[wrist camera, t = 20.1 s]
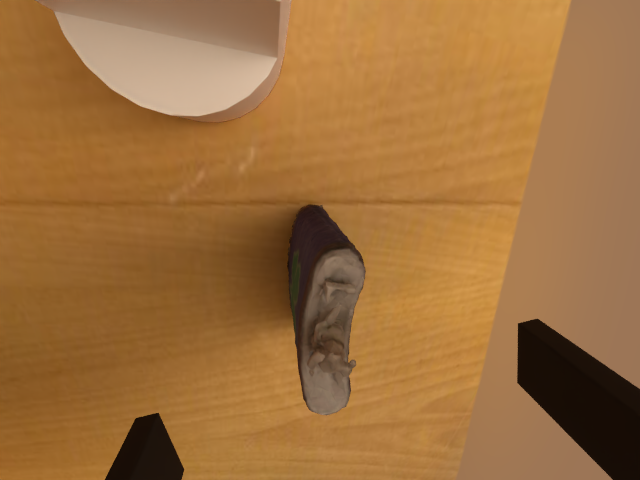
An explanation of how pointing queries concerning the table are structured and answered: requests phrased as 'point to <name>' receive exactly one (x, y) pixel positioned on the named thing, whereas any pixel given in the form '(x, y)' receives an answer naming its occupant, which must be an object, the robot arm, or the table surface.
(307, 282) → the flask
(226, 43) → the cylinder with rectangular tab
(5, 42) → the table surface
